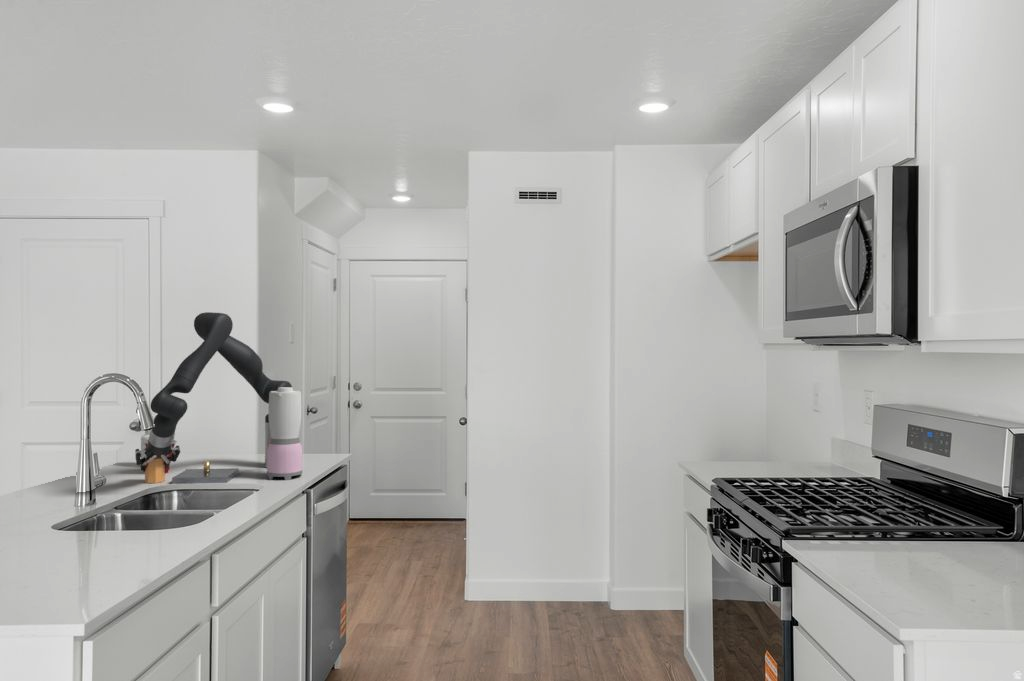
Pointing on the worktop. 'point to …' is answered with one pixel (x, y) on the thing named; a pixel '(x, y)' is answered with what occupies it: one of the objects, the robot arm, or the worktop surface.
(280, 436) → the blender
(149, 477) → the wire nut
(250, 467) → the worktop surface
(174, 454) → the robot arm
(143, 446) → the pill bottle
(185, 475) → the plate
